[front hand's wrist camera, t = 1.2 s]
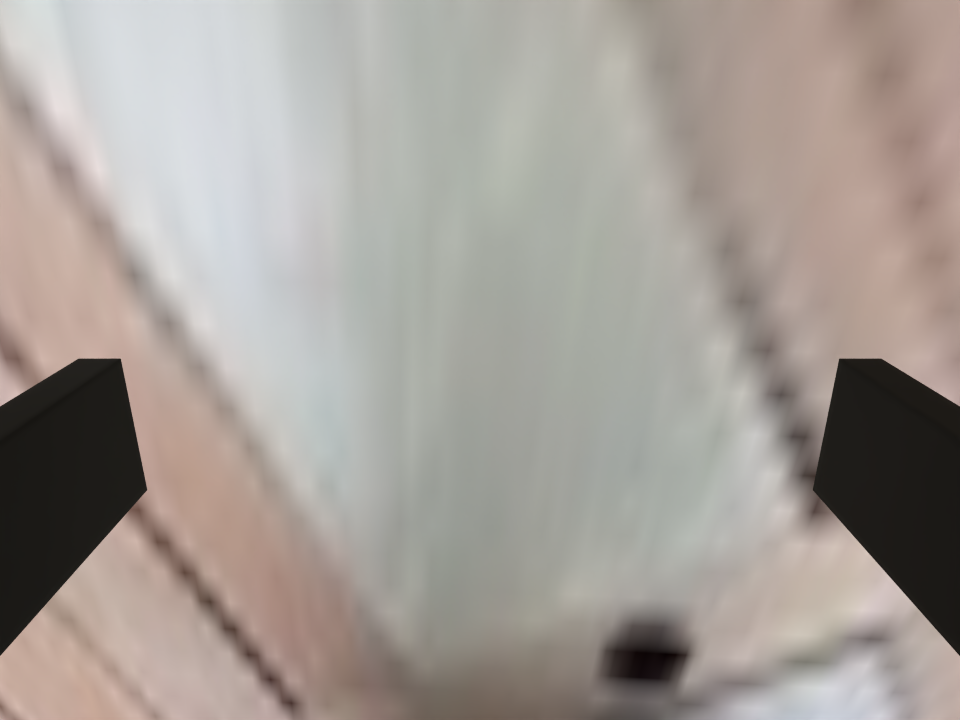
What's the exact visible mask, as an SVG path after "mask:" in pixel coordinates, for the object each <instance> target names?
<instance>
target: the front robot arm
mask: <svg viewBox="0 0 960 720" xmlns="http://www.w3.org/2000/svg"><path fill="white" fill-rule="evenodd" d="M146 491H147V487H146V482H145V477H144V472H143V467H142V462H141V457H140V452H139V447H138V442H137V437H136V432H135V427H134V422H133V417H132V412H131V407H130V402H129V398H128V393H127V388H126V383H125V378H124V373H123V368H122V363H121V359H77V360H76V361H74V362H73V363H71V364H69V365H68V366H66V367H64V368H63V369H61V370H59V371H58V372H56V373H54V374H53V375H51V376H50V377H48V378H46V379H45V380H43V381H41V382H40V383H38V384H36V385H35V386H33V387H32V388H30V389H28V390H27V391H25V392H23V393H22V394H20V395H18V396H17V397H15V398H13V399H12V400H10V401H9V402H7V403H5V404H4V405H2V406H0V655H1V654H2V653H3V652H4V651H5V650H6V649H7V648H8V646H9V645H10V644H11V643H12V642H13V641H14V640H15V639H16V637H17V636H18V635H19V634H20V633H21V632H22V631H23V629H24V628H25V627H26V626H27V625H28V624H29V623H30V622H31V620H32V619H33V618H34V617H35V616H36V615H37V614H38V613H39V611H40V610H41V609H42V608H43V607H44V606H45V605H46V604H47V602H48V601H49V600H50V599H51V598H52V597H53V596H54V594H55V593H56V592H57V591H58V590H59V589H60V588H61V587H62V585H63V584H64V583H65V582H66V581H67V580H68V579H69V578H70V576H71V575H72V574H73V573H74V572H75V571H76V570H77V569H78V567H79V566H80V565H81V564H82V563H83V562H84V561H85V559H86V558H87V557H88V556H89V555H90V554H91V553H92V552H93V550H94V549H95V548H96V547H97V546H98V545H99V544H100V543H101V541H102V540H103V539H104V538H105V537H106V536H107V535H108V534H109V532H110V531H111V530H112V529H113V528H114V527H115V526H116V524H117V523H118V522H119V521H120V520H121V519H122V518H123V517H124V515H125V514H126V513H127V512H128V511H129V510H130V509H131V508H132V506H133V505H134V504H135V503H136V502H137V501H138V500H139V499H140V497H141V496H142V495H143V494H144V493H145V492H146ZM813 491H814V492H815V493H816V494H817V495H818V496H819V497H820V499H821V500H822V501H823V502H824V503H825V504H826V505H827V506H828V508H829V509H830V510H831V511H832V512H833V513H834V514H835V515H836V517H837V518H838V519H839V520H840V521H841V522H842V523H843V524H844V526H845V527H846V528H847V529H848V530H849V531H850V532H851V534H852V535H853V536H854V537H855V538H856V539H857V540H858V541H859V543H860V544H861V545H862V546H863V547H864V548H865V549H866V550H867V552H868V553H869V554H870V555H871V556H872V557H873V558H874V559H875V561H876V562H877V563H878V564H879V565H880V566H881V567H882V569H883V570H884V571H885V572H886V573H887V574H888V575H889V576H890V578H891V579H892V580H893V581H894V582H895V583H896V584H897V585H898V587H899V588H900V589H901V590H902V591H903V592H904V593H905V594H906V596H907V597H908V598H909V599H910V600H911V601H912V602H913V604H914V605H915V606H916V607H917V608H918V609H919V610H920V611H921V613H922V614H923V615H924V616H925V617H926V618H927V619H928V620H929V622H930V623H931V624H932V625H933V626H934V627H935V628H936V629H937V631H938V632H939V633H940V634H941V635H942V636H943V637H944V639H945V640H946V641H947V642H948V643H949V644H950V645H951V646H952V648H953V649H954V650H955V651H956V652H957V653H958V654H959V655H960V406H958V405H956V404H955V403H953V402H951V401H950V400H948V399H947V398H945V397H943V396H942V395H940V394H938V393H937V392H935V391H933V390H932V389H930V388H928V387H927V386H925V385H924V384H922V383H920V382H919V381H917V380H915V379H914V378H912V377H910V376H909V375H907V374H906V373H904V372H902V371H901V370H899V369H897V368H896V367H894V366H892V365H891V364H889V363H887V362H886V361H884V360H883V359H839V363H838V368H837V373H836V378H835V383H834V388H833V393H832V398H831V402H830V407H829V412H828V417H827V422H826V427H825V432H824V437H823V442H822V447H821V452H820V457H819V462H818V467H817V472H816V477H815V482H814V487H813Z"/></svg>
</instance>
